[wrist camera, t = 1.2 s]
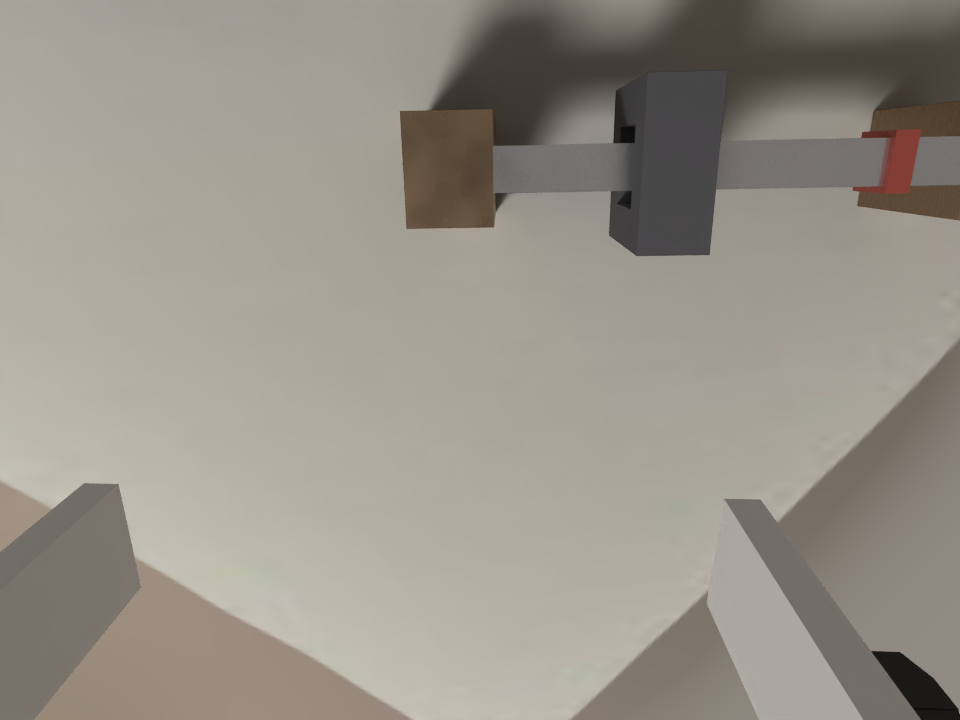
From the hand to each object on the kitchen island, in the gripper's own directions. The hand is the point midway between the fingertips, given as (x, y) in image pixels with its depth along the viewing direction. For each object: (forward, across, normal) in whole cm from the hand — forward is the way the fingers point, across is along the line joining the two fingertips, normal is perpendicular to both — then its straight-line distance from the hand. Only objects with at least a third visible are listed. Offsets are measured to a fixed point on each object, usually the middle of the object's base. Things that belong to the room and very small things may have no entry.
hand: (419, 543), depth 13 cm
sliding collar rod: (+25, +11, +7) cm, 28 cm away
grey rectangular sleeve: (+22, +9, +7) cm, 24 cm away
